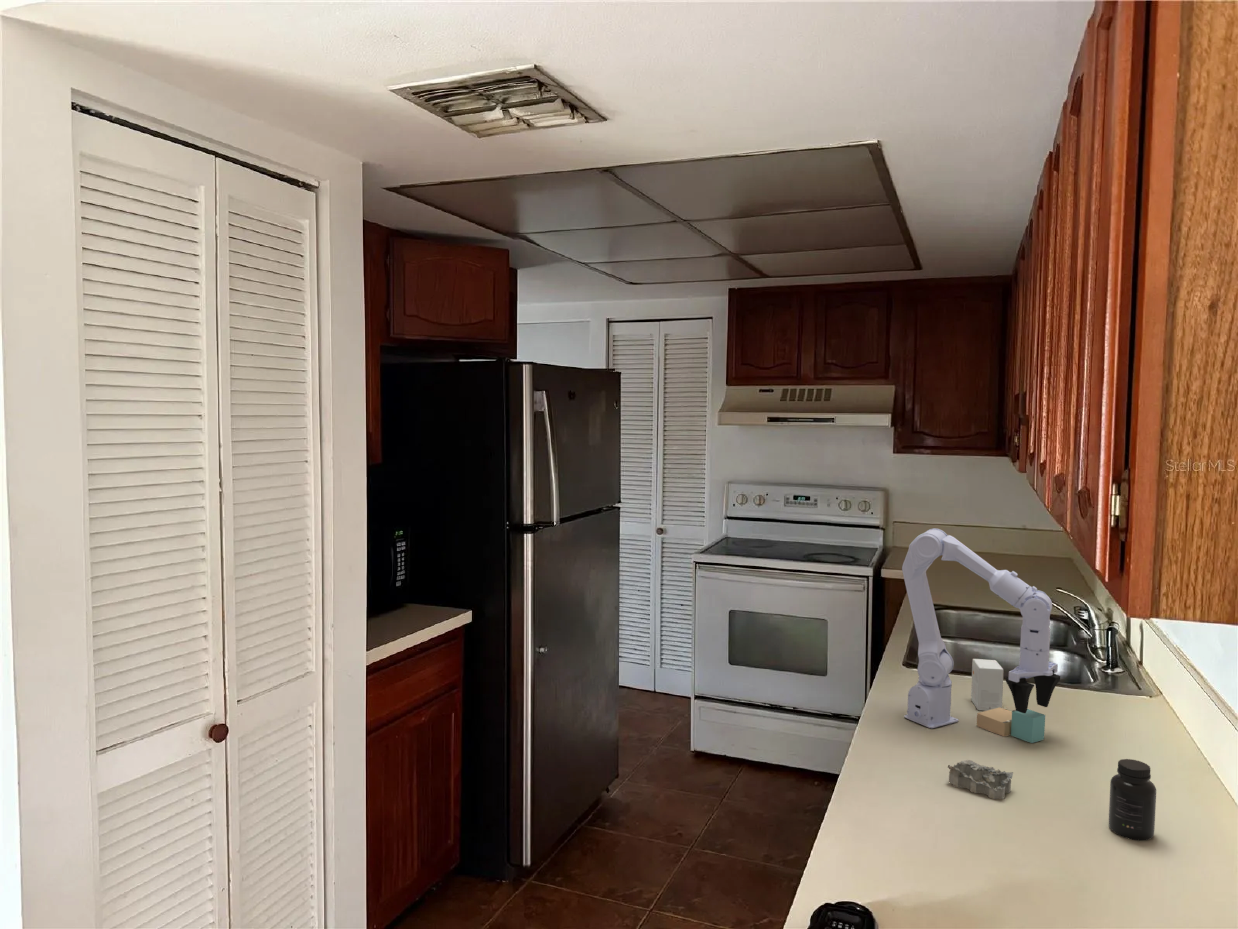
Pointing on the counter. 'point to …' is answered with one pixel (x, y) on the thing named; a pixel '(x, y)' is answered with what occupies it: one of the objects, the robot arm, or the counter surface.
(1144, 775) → the supplement bottle
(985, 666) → the small box
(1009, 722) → the taped cardboard box
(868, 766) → the counter surface
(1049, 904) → the counter surface
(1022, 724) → the teal box
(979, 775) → the egg carton
